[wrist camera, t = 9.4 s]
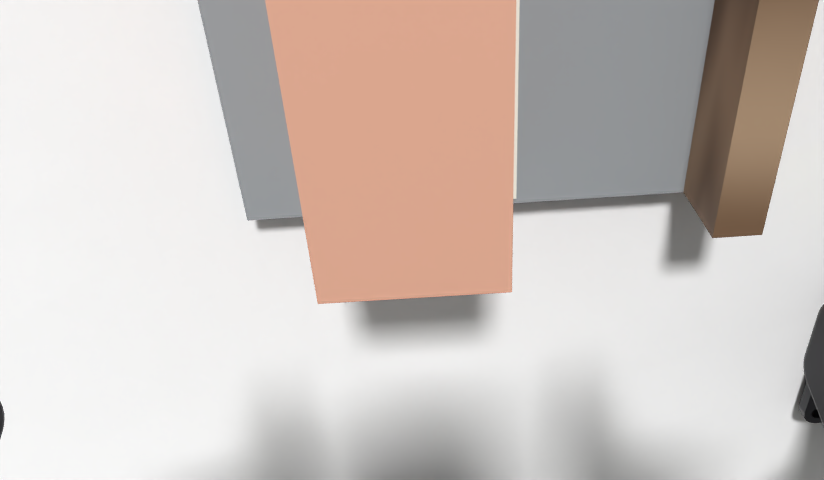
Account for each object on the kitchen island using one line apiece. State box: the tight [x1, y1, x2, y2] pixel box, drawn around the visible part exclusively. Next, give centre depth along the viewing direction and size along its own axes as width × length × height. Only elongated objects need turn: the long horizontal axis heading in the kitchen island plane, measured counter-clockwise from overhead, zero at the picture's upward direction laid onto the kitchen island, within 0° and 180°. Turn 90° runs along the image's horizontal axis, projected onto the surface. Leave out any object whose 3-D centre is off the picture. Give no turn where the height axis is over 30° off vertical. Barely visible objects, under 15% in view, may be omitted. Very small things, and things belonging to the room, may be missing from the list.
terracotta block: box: [265, 0, 516, 304], centre depth 15 cm, size 4×8×5 cm, turn 4°
